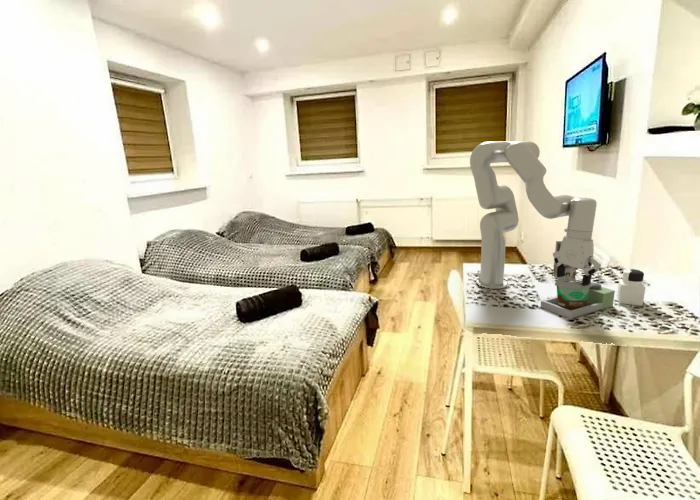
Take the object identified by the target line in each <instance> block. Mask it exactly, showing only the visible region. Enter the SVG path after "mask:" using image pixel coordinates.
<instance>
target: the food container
mask: <svg viewBox="0 0 700 500" xmlns="http://www.w3.org/2000/svg"><path fill="white" fill-rule="evenodd" d="M591 282H592V281H591ZM591 282H590V284H589V285H586V286H582V280H576V279H575V280H570V281H559V280H558V279H556V280H555V282H554V286H556V292H557V293H556V294H557V295H556V297H557V298H558V306H560V307H562V308H565V309H572V310H575V309H578V308H582V307H585V306H586V305H587V299H588V293H589V288H590V287H591V286H592V285H591Z"/></svg>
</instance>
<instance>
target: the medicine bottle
mask: <svg viewBox="0 0 700 500" xmlns="http://www.w3.org/2000/svg"><path fill="white" fill-rule="evenodd" d="M622 272H623V273H622V276H621V278H622V279H620V278H619V280H618V286H617V291H616V292H617V294H616V298H617V302H618V304H624V305H633V306H639V307H643V305H644V300H645V299H644V298H645V293H646V292H645V291H646V286H645V284H644V282H643V281H644V278H645V277H644V275H645V273H644V271H641V270H640V269H635V268H629V269H623V271H622Z"/></svg>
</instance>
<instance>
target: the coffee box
mask: <svg viewBox="0 0 700 500" xmlns="http://www.w3.org/2000/svg"><path fill="white" fill-rule="evenodd" d="M561 243H562V240H561V241H559V240H556V241H555V248H554V249H555V251H554V252H558V251H559V250H560V246H561ZM553 261H554V260H553ZM564 266H565V274H564V276H563V277H557V268H558V267H557V266H556V262H555V261H554V262H553V272H552V273H553V274H552V275H553V276H554V277H555V278H556V280H559V281H564V282H565V281H570V280H576V274H577V273H576V272H577V268H574V267H571V266H568V265H564Z"/></svg>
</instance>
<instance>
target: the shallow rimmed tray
mask: <svg viewBox="0 0 700 500" xmlns="http://www.w3.org/2000/svg"><path fill="white" fill-rule="evenodd" d="M591 285H592V286H591V287H590V288H589V293H588V299H587V305H586V306H585V307H582V308H578V309H575V310H572V309H565V308H562V307H560V306H558V298H557V296H554V297H550V298H546V299H543V300H540V308H542V309H545V310H548V311H550V312H552V313H554V314H556V315H560V316H561V317H564V318H567V319H569V320H573V319H576V318H579V317H582V316H585V315H586V316H587V315H589V314H592V313H594V312H595V313H596V312H599V311H603V310H605V309H608V308H611V307H613V306H614V299H615V293H616V291H615V290H614V289H612V288H611V289H610V288H607V287H603V286H602V284H601V283H599V282H598V283H597V282H592V281H591Z"/></svg>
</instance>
